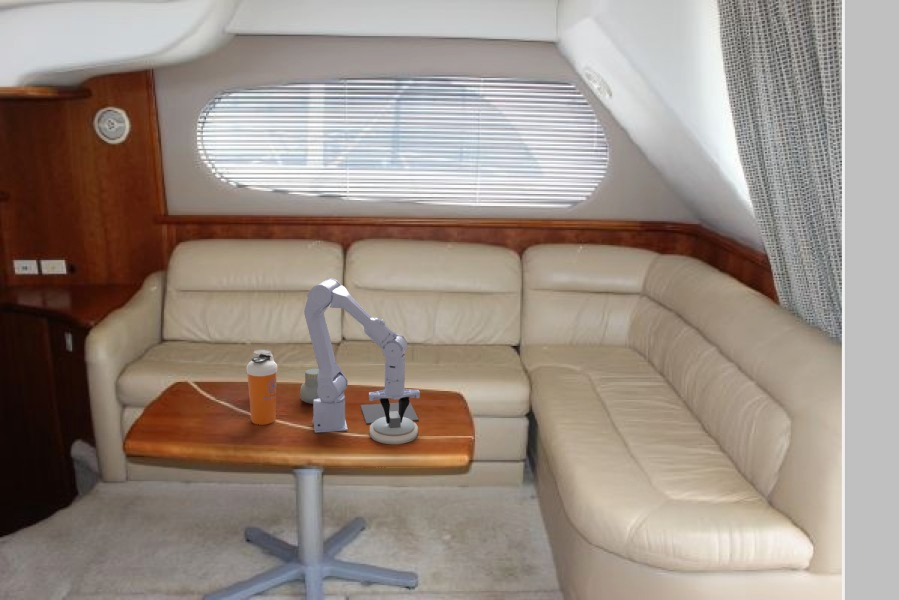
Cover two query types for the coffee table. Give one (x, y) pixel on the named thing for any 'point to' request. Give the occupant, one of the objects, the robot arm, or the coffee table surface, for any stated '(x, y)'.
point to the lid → (393, 424)
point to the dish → (393, 436)
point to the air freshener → (310, 386)
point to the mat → (377, 411)
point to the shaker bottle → (262, 389)
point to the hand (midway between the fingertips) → (393, 421)
